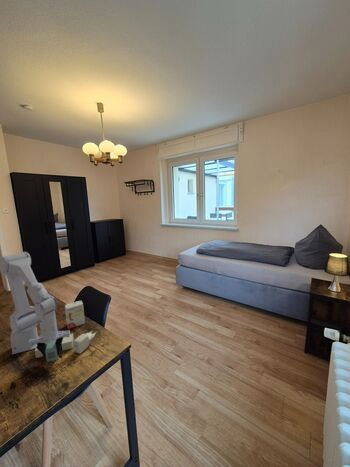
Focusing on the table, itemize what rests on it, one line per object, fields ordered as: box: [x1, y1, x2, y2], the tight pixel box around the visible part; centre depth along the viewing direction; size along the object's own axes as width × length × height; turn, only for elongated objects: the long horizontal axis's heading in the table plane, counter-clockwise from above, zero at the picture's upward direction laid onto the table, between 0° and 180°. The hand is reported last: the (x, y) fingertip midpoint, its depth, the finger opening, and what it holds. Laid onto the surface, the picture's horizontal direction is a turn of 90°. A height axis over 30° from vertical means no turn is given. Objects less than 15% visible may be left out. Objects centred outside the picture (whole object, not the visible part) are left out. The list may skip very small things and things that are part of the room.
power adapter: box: [73, 330, 98, 355], centre depth 91 cm, size 11×5×6 cm, turn 159°
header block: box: [34, 332, 75, 359], centre depth 89 cm, size 14×6×4 cm, turn 112°
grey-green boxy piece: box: [45, 339, 62, 363], centre depth 85 cm, size 4×8×6 cm, turn 21°
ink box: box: [64, 300, 86, 330], centre depth 106 cm, size 9×5×12 cm, turn 125°
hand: (52, 355), depth 83 cm, fingers closed on grey-green boxy piece, 4 cm apart
